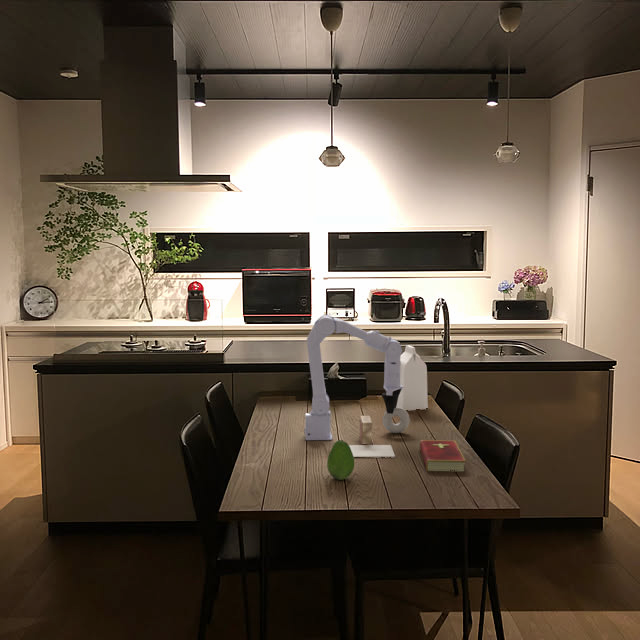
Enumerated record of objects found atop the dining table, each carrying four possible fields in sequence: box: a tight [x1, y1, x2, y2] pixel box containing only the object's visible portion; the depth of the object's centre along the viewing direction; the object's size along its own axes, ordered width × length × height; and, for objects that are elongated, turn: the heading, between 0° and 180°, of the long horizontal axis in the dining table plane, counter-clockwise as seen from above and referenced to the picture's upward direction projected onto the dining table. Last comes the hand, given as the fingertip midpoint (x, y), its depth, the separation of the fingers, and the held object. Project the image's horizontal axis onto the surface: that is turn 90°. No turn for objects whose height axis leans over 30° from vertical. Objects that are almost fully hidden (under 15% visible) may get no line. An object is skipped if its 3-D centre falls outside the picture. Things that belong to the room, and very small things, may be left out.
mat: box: [348, 444, 396, 459], centre depth 228 cm, size 16×12×1 cm
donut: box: [382, 407, 411, 434], centre depth 249 cm, size 10×4×10 cm, turn 91°
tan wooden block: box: [359, 415, 373, 445], centre depth 240 cm, size 4×9×8 cm, turn 1°
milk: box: [396, 344, 429, 411], centre depth 287 cm, size 12×12×26 cm
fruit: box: [326, 439, 355, 481], centre depth 202 cm, size 8×8×12 cm
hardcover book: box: [419, 439, 466, 472], centre depth 219 cm, size 12×21×4 cm, turn 177°
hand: (391, 410), depth 243 cm, fingers open, 7 cm apart
